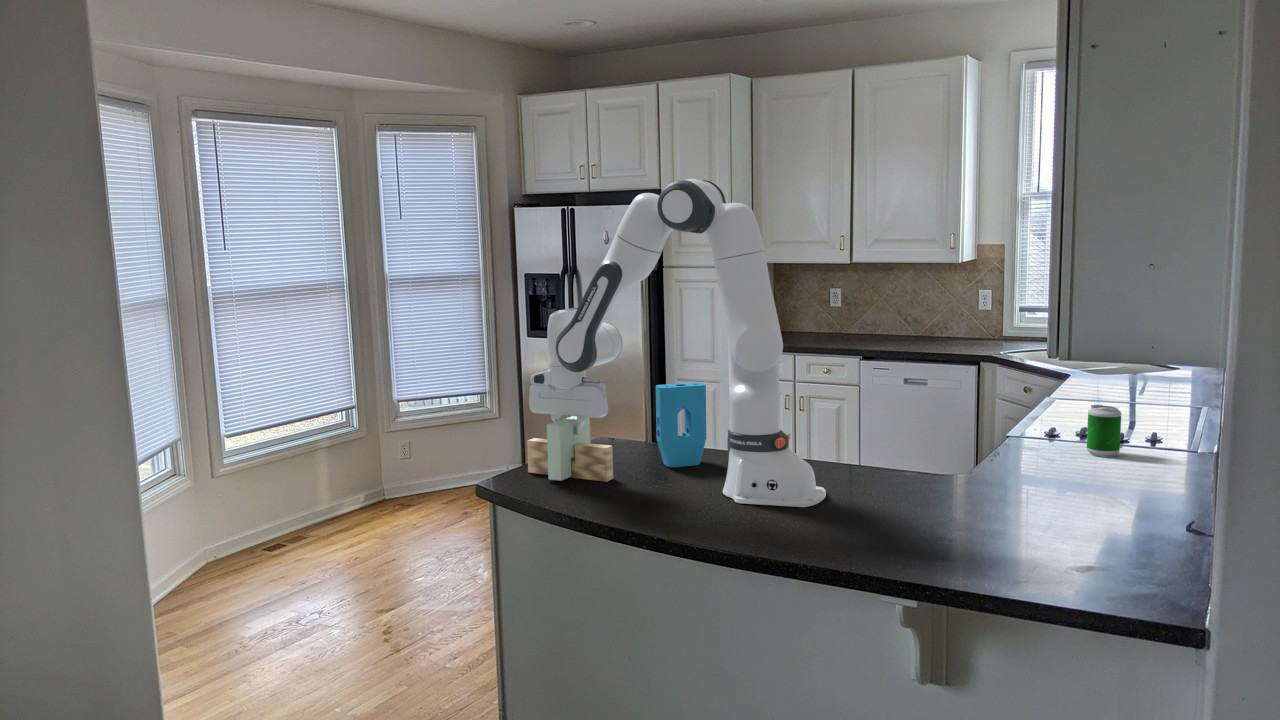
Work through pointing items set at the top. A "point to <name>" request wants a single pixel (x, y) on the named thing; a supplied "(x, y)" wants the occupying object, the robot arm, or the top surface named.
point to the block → (667, 408)
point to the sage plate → (564, 446)
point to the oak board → (574, 460)
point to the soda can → (1103, 431)
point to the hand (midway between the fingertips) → (569, 433)
